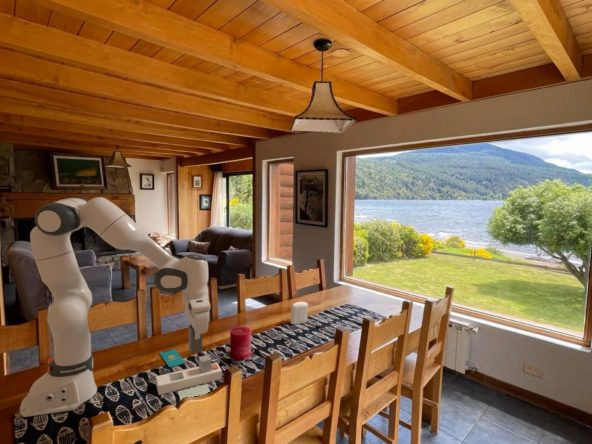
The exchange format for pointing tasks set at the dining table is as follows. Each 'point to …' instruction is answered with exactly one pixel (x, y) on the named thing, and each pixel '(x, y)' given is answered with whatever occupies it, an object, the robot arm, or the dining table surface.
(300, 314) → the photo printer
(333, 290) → the dining table surface
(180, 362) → the teal passport
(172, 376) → the power strip
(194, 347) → the block
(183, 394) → the mat
